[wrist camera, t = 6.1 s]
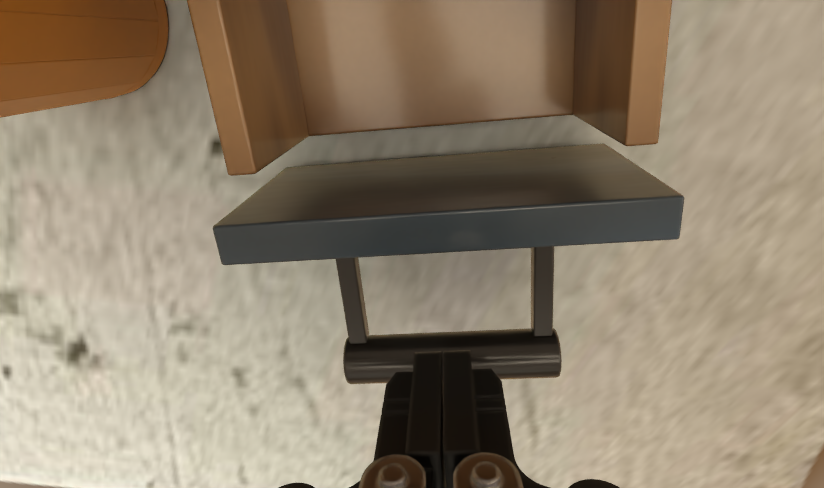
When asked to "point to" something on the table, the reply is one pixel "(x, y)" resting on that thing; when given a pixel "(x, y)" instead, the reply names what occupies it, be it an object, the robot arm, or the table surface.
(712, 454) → the table surface
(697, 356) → the table surface
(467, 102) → the drawer
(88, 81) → the jar
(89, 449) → the table surface
